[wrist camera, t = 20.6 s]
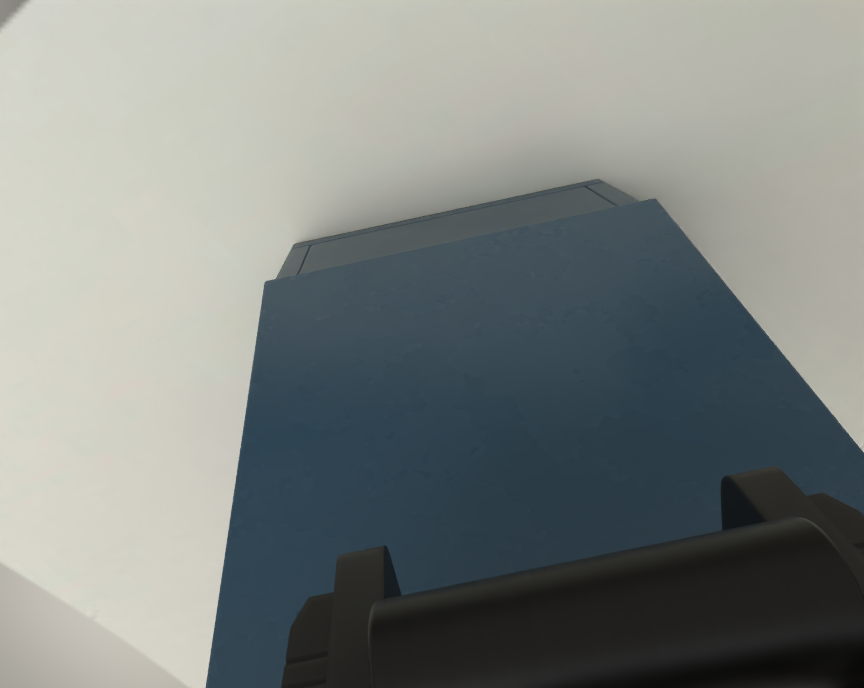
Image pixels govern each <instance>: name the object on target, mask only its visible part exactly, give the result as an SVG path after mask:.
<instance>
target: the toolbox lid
mask: <svg viewBox="0 0 864 688" xmlns="http://www.w3.org/2000/svg"><path fill="white" fill-rule="evenodd" d="M771 466H776V467H778V468H780V469H781V470H782V471H783V472H784V473H785V474H786V475H787V476H788V477H789V478H790V479H791V480H792V481H793V482H794V483H795V484H796V485H797V486H798V487H799V488H800V489H801V491H802V492H803V493H804V494H805V495H806V496H808V495H813V494H818V493H825V494H827V495H829V496H831V497H833V498H835V499H837V500H839V501H841V502H842V503H844V504H846V505H848V506H850V507H852V508H854V509H856V510H858V511H860V512H861V513H862V514H863V515H864V452H863V451H862V450H861V449H860V448H859V446H858V445H857V444H856V443H855V441H854V440H853V439H852V438H851V437H850V435H849V434H848V433H847V432H846V430H845V429H844V428H843V427H842V426H841V424H840V423H839V422H838V421H837V419H836V418H835V417H834V416H833V415H832V413H831V412H830V411H829V410H828V408H827V407H826V406H825V405H824V404H823V402H822V401H821V400H820V399H819V398H818V396H817V395H816V394H815V393H814V391H813V390H812V389H811V388H810V387H809V385H808V384H807V383H806V382H805V380H804V379H803V378H802V377H801V376H800V374H799V373H798V372H797V371H796V369H795V368H794V367H793V366H792V365H791V363H790V362H789V361H788V360H787V358H786V357H785V356H784V355H783V354H782V352H781V351H780V350H779V349H778V347H777V346H776V345H775V344H774V343H773V341H772V340H771V339H770V338H769V336H768V335H767V334H766V333H765V332H764V330H763V329H762V328H761V327H760V325H759V324H758V323H757V322H756V321H755V319H754V318H753V317H752V316H751V314H750V313H749V312H748V311H747V310H746V308H745V307H744V306H743V305H742V303H741V302H740V301H739V300H738V299H737V297H736V296H735V295H734V294H733V292H732V291H731V290H730V289H729V288H728V286H727V285H726V284H725V283H724V281H723V280H722V279H721V278H720V277H719V275H718V274H717V273H716V272H715V270H714V269H713V268H712V267H711V266H710V264H709V263H708V262H707V261H706V259H705V258H704V257H703V256H702V255H701V253H700V252H699V251H698V250H697V248H696V247H695V246H694V245H693V244H692V242H691V241H690V240H689V239H688V238H687V236H686V235H685V234H684V233H683V231H682V230H681V229H680V228H679V227H678V225H677V224H676V223H675V222H674V220H673V219H672V218H671V217H670V216H669V214H668V213H667V212H666V211H665V209H664V208H663V207H662V206H661V205H660V203H659V202H658V201H657V200H656V199H649V200H644V201H640V202H635V203H630V204H626V205H621V206H616V207H612V208H607V209H602V210H598V211H593V212H588V213H583V214H579V215H574V216H569V217H565V218H560V219H555V220H551V221H546V222H541V223H537V224H532V225H527V226H523V227H518V228H513V229H509V230H504V231H499V232H494V233H490V234H485V235H480V236H476V237H471V238H466V239H462V240H457V241H452V242H448V243H443V244H438V245H434V246H429V247H424V248H420V249H415V250H410V251H406V252H401V253H396V254H391V255H387V256H382V257H377V258H373V259H368V260H363V261H359V262H354V263H349V264H345V265H340V266H335V267H331V268H326V269H321V270H317V271H312V272H307V273H302V274H298V275H293V276H288V277H284V278H279V279H274V280H270V281H266V282H265V284H264V291H263V298H262V305H261V312H260V318H259V325H258V332H257V339H256V346H255V353H254V360H253V367H252V373H251V380H250V387H249V394H248V401H247V408H246V415H245V421H244V428H243V435H242V442H241V449H240V456H239V463H238V470H237V476H236V483H235V490H234V497H233V504H232V511H231V518H230V525H229V531H228V538H227V545H226V552H225V559H224V566H223V573H222V579H221V586H220V593H219V600H218V607H217V614H216V621H215V628H214V634H213V641H212V648H211V655H210V662H209V669H208V676H207V683H206V688H282V687H281V684H282V678H283V671H284V665H286V652H287V646H288V640H289V633H290V627H291V625H292V624H293V622H294V620H295V619H296V617H297V615H298V614H299V612H300V611H301V609H302V607H303V606H304V604H305V602H306V601H307V599H308V597H312V596H317V595H322V594H327V593H332V592H334V584H335V572H336V562H337V557H338V555H340V554H345V553H350V552H355V551H360V550H365V549H369V548H374V547H379V546H384V545H386V546H387V548H388V550H389V553H390V556H391V559H392V563H393V566H394V570H395V573H396V577H397V581H398V584H399V588H400V591H401V596H396V597H391V598H386V599H381V600H378V601H377V602H375V603H374V604H373V605H372V607H371V611H370V616H369V623H368V658H369V671H370V681H371V688H861V687H863V686H864V596H863V594H862V592H861V589H860V587H859V584H858V582H857V580H856V578H855V576H854V574H853V572H852V570H851V569H850V567H849V565H848V563H847V562H846V560H845V558H844V557H843V555H842V554H841V552H840V551H839V549H838V548H837V547H836V545H835V544H834V543H833V541H832V540H831V539H830V538H829V537H828V535H827V534H826V533H825V532H824V531H823V530H822V529H821V528H819V527H818V526H817V525H816V524H814V523H813V522H811V521H810V520H807V519H805V518H800V517H795V516H792V517H786V518H781V519H776V520H771V521H767V522H762V523H757V524H752V525H747V526H742V527H737V528H732V529H727V530H722V515H721V481H722V478H723V477H724V476H727V475H732V474H737V473H742V472H747V471H752V470H756V469H761V468H766V467H771Z"/></svg>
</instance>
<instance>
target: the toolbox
mask: <svg viewBox="0 0 864 688" xmlns="http://www.w3.org/2000/svg"><path fill="white" fill-rule="evenodd" d="M635 202H640V201H638V200H637V199H635V198H633V197H631V196H629V195H627V194H626V193H624V192H622V191H620V190H618V189H616V188H615V187H613V186H611V185H609V184H607V183H606V182H604V181H602V180H600V179H596V180H591V181H587V182H582V183H577V184H573V185H568V186H563V187H559V188H554V189H549V190H545V191H540V192H535V193H531V194H526V195H521V196H517V197H512V198H507V199H503V200H498V201H493V202H489V203H484V204H479V205H475V206H470V207H465V208H461V209H456V210H451V211H447V212H442V213H437V214H433V215H428V216H423V217H419V218H414V219H409V220H405V221H400V222H396V223H391V224H386V225H382V226H377V227H372V228H368V229H363V230H358V231H354V232H349V233H344V234H340V235H335V236H330V237H326V238H321V239H316V240H312V241H307V242H302V243H298V244H294V245H293V247H292V249H291V251H290V253H289V255H288V256H287V258H286V260H285V262H284V264H283V266H282V268H281V270H280V272H279V274H278V276H277V278H276V279H279V278H284V277H288V276H293V275H298V274H302V273H307V272H312V271H317V270H321V269H326V268H331V267H335V266H340V265H345V264H349V263H354V262H359V261H363V260H368V259H373V258H377V257H382V256H387V255H391V254H396V253H401V252H406V251H410V250H415V249H420V248H424V247H429V246H434V245H438V244H443V243H448V242H452V241H457V240H462V239H466V238H471V237H476V236H480V235H485V234H490V233H494V232H499V231H504V230H509V229H513V228H518V227H523V226H527V225H532V224H537V223H541V222H546V221H551V220H555V219H560V218H565V217H569V216H574V215H579V214H583V213H588V212H593V211H598V210H602V209H607V208H612V207H616V206H621V205H626V204H630V203H635Z"/></svg>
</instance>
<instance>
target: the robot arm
mask: <svg viewBox="0 0 864 688" xmlns="http://www.w3.org/2000/svg"><path fill="white" fill-rule="evenodd" d="M721 515H722V530H727V529H732V528H737V527H742V526H747V525H752V524H757V523H762V522H767V521H771V520H776V519H781V518H786V517H792V516H795V517H800V518H805V519H807V520H810V521H811V522H813V523H814V524H816V525H817V526H818V527H819V528H821V529H822V530H823V531H824V532H825V533H826V534H827V535H828V537H829V538H830V539H831V540H832V541H833V543H834V544H835V545H836V547H837V548H838V549H839V551H840V552H841V554H842V555H843V557H844V558H845V560H846V562H847V563H848V565H849V567H850V569H851V570H852V572H853V574H854V576H855V578H856V580H857V582H858V584H859V587H860V589H861V592H862V594H863V596H864V515H863V514H862V513H861V512H860V511H858V510H856V509H854V508H852V507H850V506H848V505H846V504H844V503H842V502H841V501H839V500H837V499H835V498H833V497H831V496H829V495H827V494H825V493H818V494H813V495H808V496H806V495H805V494H804V493H803V492H802V491H801V489H800V488H799V487H798V486H797V485H796V484H795V483H794V482H793V481H792V480H791V479H790V478H789V477H788V476H787V475H786V474H785V473H784V472H783V471H782V470H781V469H780V468H778V467H776V466H771V467H766V468H761V469H756V470H752V471H747V472H742V473H737V474H732V475H727V476H724V477H723V478H722V481H721ZM396 596H401V591H400V588H399V584H398V581H397V577H396V573H395V570H394V566H393V563H392V559H391V556H390V553H389V550H388V548H387V546H386V545H384V546H379V547H374V548H369V549H365V550H360V551H355V552H350V553H345V554H340V555H338V557H337V562H336V572H335V584H334V592H332V593H327V594H322V595H317V596H312V597H308V599H307V601H306V602H305V604H304V606H303V607H302V609H301V611H300V612H299V614H298V615H297V617H296V619H295V620H294V622H293V624H292V625H291V627H290V633H289V640H288V646H287V652H286V665H284V671H283V678H282V684H281V687H282V688H371V681H370V671H369V658H368V623H369V616H370V611H371V607H372V605H373V604H374V603H375V602H377V601H378V600H381V599H386V598H391V597H396ZM861 688H864V686H863V687H861Z"/></svg>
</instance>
